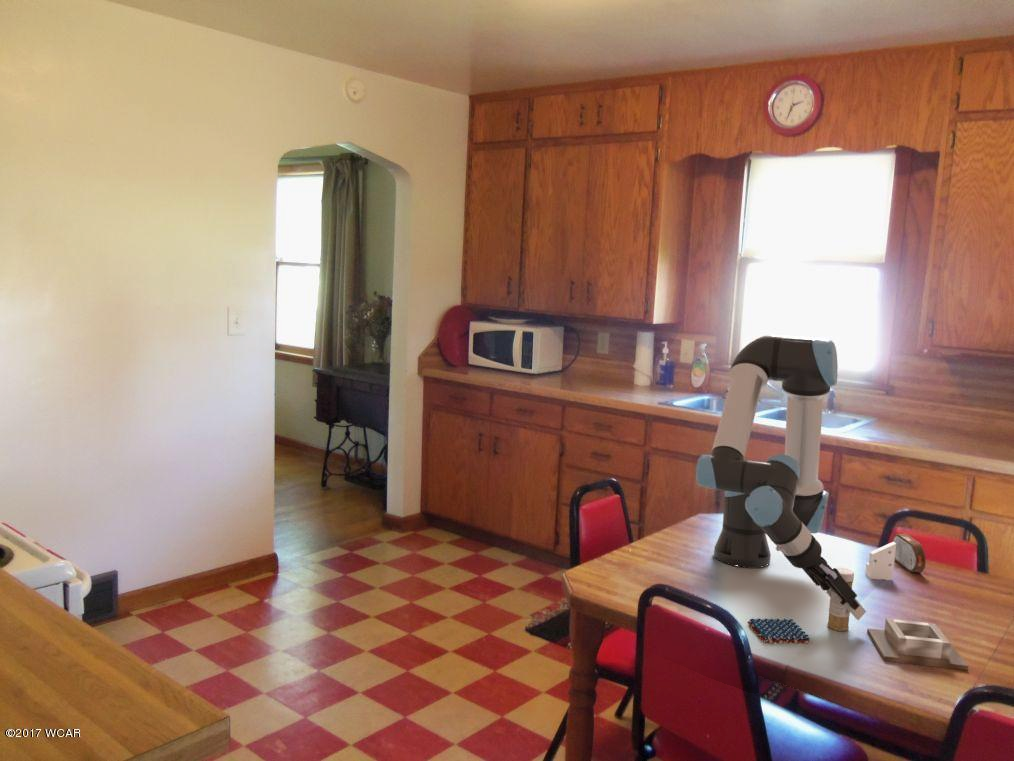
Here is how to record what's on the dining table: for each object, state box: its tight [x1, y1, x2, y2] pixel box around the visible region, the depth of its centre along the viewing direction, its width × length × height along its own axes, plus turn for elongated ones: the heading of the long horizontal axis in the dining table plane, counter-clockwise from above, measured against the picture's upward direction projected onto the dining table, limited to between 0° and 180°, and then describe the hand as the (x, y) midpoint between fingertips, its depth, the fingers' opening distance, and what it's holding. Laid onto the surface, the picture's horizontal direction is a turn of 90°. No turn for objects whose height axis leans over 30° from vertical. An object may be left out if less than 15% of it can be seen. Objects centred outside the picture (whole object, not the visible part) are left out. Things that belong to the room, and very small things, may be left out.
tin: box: [892, 533, 927, 574], centre depth 228 cm, size 15×3×8 cm, turn 179°
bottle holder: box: [866, 618, 969, 671], centre depth 175 cm, size 16×14×4 cm
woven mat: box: [747, 617, 811, 645], centre depth 181 cm, size 10×11×2 cm
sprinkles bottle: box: [827, 567, 855, 632], centre depth 185 cm, size 5×5×13 cm
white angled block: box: [865, 541, 896, 581], centre depth 219 cm, size 4×10×9 cm, turn 84°
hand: (853, 610), depth 186 cm, fingers closed on sprinkles bottle, 4 cm apart
